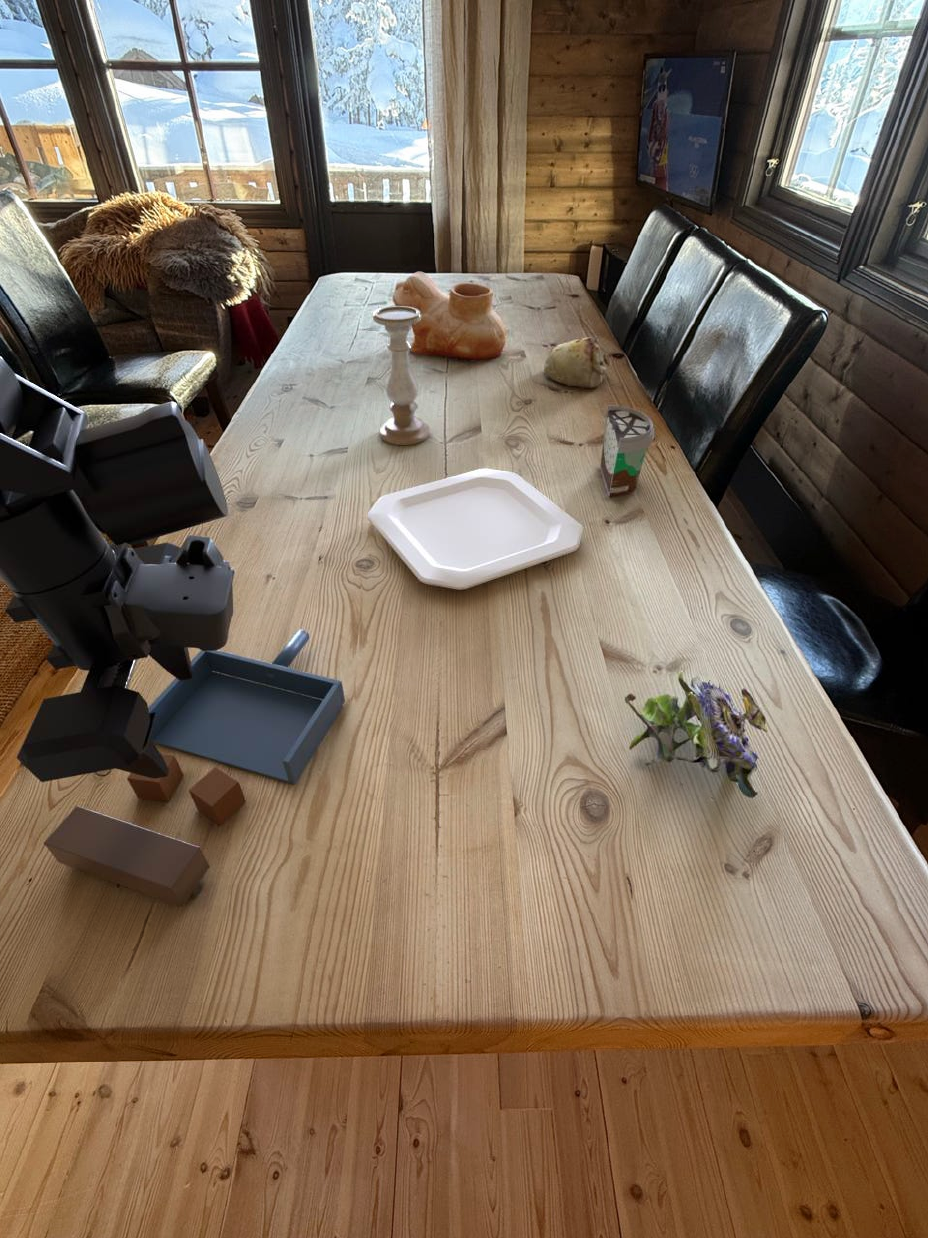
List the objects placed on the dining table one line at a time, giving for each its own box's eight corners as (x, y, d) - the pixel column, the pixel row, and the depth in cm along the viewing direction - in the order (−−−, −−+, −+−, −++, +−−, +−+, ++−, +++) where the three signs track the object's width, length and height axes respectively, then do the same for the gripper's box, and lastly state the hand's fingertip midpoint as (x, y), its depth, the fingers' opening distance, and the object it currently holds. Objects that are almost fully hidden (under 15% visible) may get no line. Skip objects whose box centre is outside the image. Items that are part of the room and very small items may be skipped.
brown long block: (63, 868, 54) (43, 843, 52) (94, 831, 57) (76, 805, 54) (186, 914, 52) (171, 889, 49) (213, 872, 54) (200, 847, 52)
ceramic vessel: (412, 332, 158) (408, 263, 148) (514, 346, 150) (518, 274, 140) (384, 351, 148) (378, 278, 138) (492, 367, 140) (494, 291, 131)
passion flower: (713, 797, 66) (798, 797, 54) (612, 799, 63) (680, 800, 52) (700, 685, 69) (779, 663, 57) (604, 683, 66) (666, 659, 55)
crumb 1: (137, 798, 60) (126, 778, 58) (154, 771, 62) (143, 751, 60) (168, 802, 59) (158, 782, 57) (184, 775, 61) (174, 755, 60)
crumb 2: (197, 809, 59) (188, 790, 57) (223, 786, 61) (215, 766, 59) (220, 826, 57) (211, 806, 55) (246, 801, 59) (238, 781, 57)
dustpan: (294, 785, 61) (288, 763, 58) (148, 741, 64) (137, 719, 62) (372, 659, 73) (370, 637, 71) (246, 629, 77) (240, 607, 75)
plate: (599, 552, 88) (601, 538, 87) (435, 610, 79) (434, 595, 78) (502, 474, 105) (502, 461, 103) (357, 514, 96) (355, 501, 94)
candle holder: (389, 449, 111) (379, 324, 98) (373, 429, 118) (361, 308, 104) (437, 440, 114) (433, 316, 101) (419, 420, 120) (413, 301, 107)
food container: (651, 502, 98) (664, 439, 92) (610, 502, 98) (620, 439, 92) (636, 463, 108) (647, 403, 101) (598, 463, 108) (607, 403, 101)
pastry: (615, 386, 132) (621, 345, 127) (556, 392, 130) (560, 350, 125) (589, 362, 142) (594, 323, 137) (534, 367, 140) (537, 328, 135)
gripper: (156, 648, 32) (268, 814, 42) (216, 457, 45) (290, 619, 56) (-69, 691, 32) (99, 846, 42) (59, 488, 45) (162, 644, 56)
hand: (175, 723), depth 49 cm, fingers open, 9 cm apart
